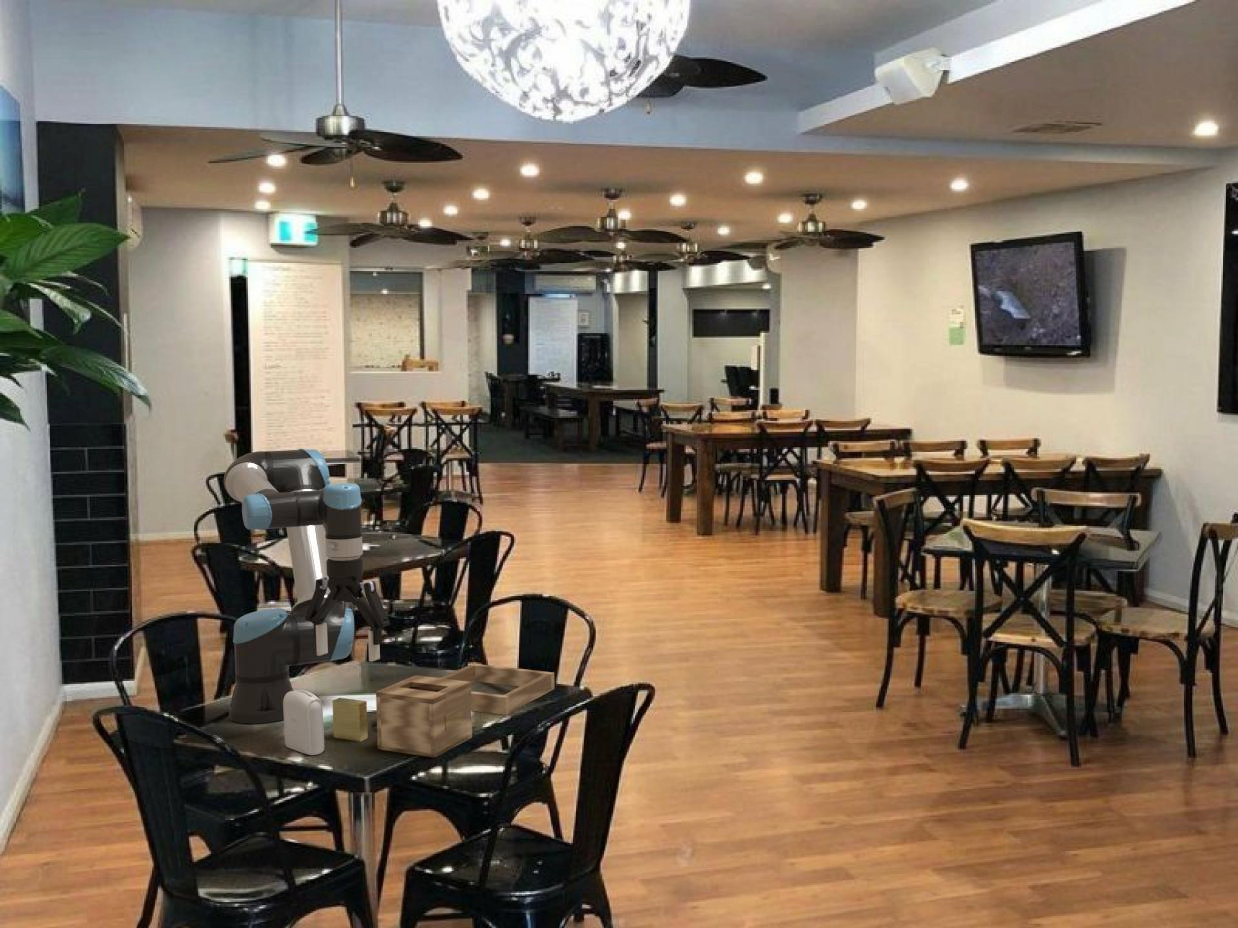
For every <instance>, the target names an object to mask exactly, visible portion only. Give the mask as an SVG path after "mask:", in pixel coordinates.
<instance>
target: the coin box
mask: <svg viewBox="0 0 1238 928" xmlns="http://www.w3.org/2000/svg"><path fill="white" fill-rule="evenodd" d="M471 691H472V683H471V682H468V681H459V680H451V679H443V678H442V677H432V676H425V675H424V676H423V675H417V674H416V675H413V676H411V677H408V678H406V679H404V680H401V681H399V682H396V683H394V684H391V685H389V686H386V687H384V688H382V689H379V690H378V691H375V704H376V705H375V707H376V732H377V733H376V734H377V735H376V736H377V749H378V750H381V751H388V752H394V753H402V754H408V755H413V756H421V757H427V758H434V759H435V758H437V757H439V756H441V755H442V754H445V753H446V752H448V751H450V750H452V749H454V748H456V747H457V746H459V745H461V744H463V743H465V742H466V741H468V740H470V739H472V738H473V719H472V717H473V715H472V714H473V713H472V710H471Z"/></svg>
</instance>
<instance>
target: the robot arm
mask: <svg viewBox="0 0 1238 928" xmlns="http://www.w3.org/2000/svg"><path fill="white" fill-rule="evenodd" d="M223 485H224V489H225V490H226V492H227V494H228V495H229V496H230V497H231V498H232V499H233V500H235V501H237V502H240V503H241V504H242V505H241V513H242V521H243V525H244V527H245V528H246V529H247V530H250V531H252V530H254V531H255V530H259V531H265V530H273V529H285V528H286V533H287V540H288V547H289V553H290V561H291V566H292V574H293V579H294V587H295V592H296V600H297V602H295V603H294V605H293V607H292V610H291V611H292V613H291V614H290V613H289V614H288V612H287V611H286V609H285V608H281V607H277V608H276V607H275V608H265V609H261V610H257V611H253V612H249V613H246V614H244V615H243V616H240V617H239V618H238V619H237V620H236V621H235V622H234V625H233V638H232V642H233V643H234V644H233V646H234V648H233V649H234V667H235V668H234V670H235V672H234V673H235V685H234V688H233V693H232V697H231V700H230V704H229V706H228V718H229V720H230V721H233V722H236V723H240V724H267V723H273V722H279V721H284V711H283V700H284V697H285V695H286V694H287V693H288V692H290V691H294V689H293V686H292V683H291V681H290V680H291V679H290V666H299V665H300V666H301V665H305V664H306V665H307V664H315V663H323V662H329V663H330V662H333V661H337V660H343V659H345V658H347V657H348V656H349V655H350V654H351V652H352V649H353V644H354V637H355V636H354V635H355V619H354V613H353V610H352V608H350V607H344V603H351V604H352V605H354V606H355V607H356V608H357V610H358V611H359V613H360V614H361V616H362V617H363V618H364V620H365V622H366V623H367V624H368V626H369V627H370V629H368V630H367V634H368V635H367V637H368V638H367V640H368V642H367V643H368V662H375V661H377V660H380V659H381V653H380V652H381V651H380V645H382V643H383V633H382V632H383V631H382V630H383V628H385V627H387V626H388V627H389V626H390V624H391V621H390V619H389V617H388V615H387V612H386V610H385V607H384V605H383V604H382V600H381V598H380V596H379V594H378V591H377V584H376V581H374V580H371V581H367V582H364V580H363V575H364V559H363V558H362V557H361V556H362V555H363V554H364V551H363V550H364V549H363V545H364V544H363V536H362V535H363V534H362V533H363V531H362V530H363V528H362V502H363V500H362V496H361V489H360V486H359V485H358V484H357V483H348V482H341V483H331V480H330V470H329V466H328V464H327V461H326V459H325V457H324V455H323V453H321V452H320V451H319V450H317V449H305V448H299V449H290V450H289V449H287V450H266V451H263V450H259V451H252V452H249V453H246V454H243V455H242V456H240V457H238V458H236V459H234V461H232V462H231V464H230V465H229V466H228V467H227V469H226V471H225V473H224V476H223Z"/></svg>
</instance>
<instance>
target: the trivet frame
mask: <svg viewBox="0 0 1238 928" xmlns="http://www.w3.org/2000/svg"><path fill="white" fill-rule="evenodd" d="M441 678H443V679H451V680H459V681H468V682H471V684H473V683H474V682H477V683H485V684H486V683H487V684H493V685H503V686H511V687H517V688H514V689H512V690H511V691H509V692H507V693H505V694H497V693H490V692H489V693H488V692H480V691H479V692H478V691H473V690H471V710H472V711H473V712H479V713H486V714H487V713H488V714H495V715H500V716H501V715H504V716H507V715H509V714H511V713H513V712H514V711H516V710H518V709H520V708H522V707H524V706H525V705H527V704H529V703H530V702H533V701H536V700H537V699H538V698H540V697H542V696H544V695H546V694H548V693H550V692H551V691H553V690H555V672H554V671H553V672H550V671H543V670H542V671H541V670H535V669H534V670H532V669H526V668H525V669H524V668H514V667H506V666H498V665H490V664H489V665H488V664H480V663H471V664H469V665H467V666H463V667H462V668H460V669H458V670H455V671H453V672H451V673H449V674H446V675H444V676H442V677H441Z"/></svg>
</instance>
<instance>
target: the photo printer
mask: <svg viewBox="0 0 1238 928" xmlns="http://www.w3.org/2000/svg"><path fill="white" fill-rule="evenodd" d="M323 707H324V706H323V703H322V701H321V699H320V698H319V697H318V696H316V695H315V694H313V693H312V692H310V691H308V690H304V689H293V691H290V692H288V693H287V694H286V695H285V697H284V700H283V711H284V719H283V725H284V726H283V729H284V744H285V746H286V747H287V748H289V749H291V750H293V751H297V752H300V753H301V754H305V755H309V756H317V755H320V754H322V753H323V751H325V732H324V730H325V729H324V712H323V711H324V710H323Z"/></svg>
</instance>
